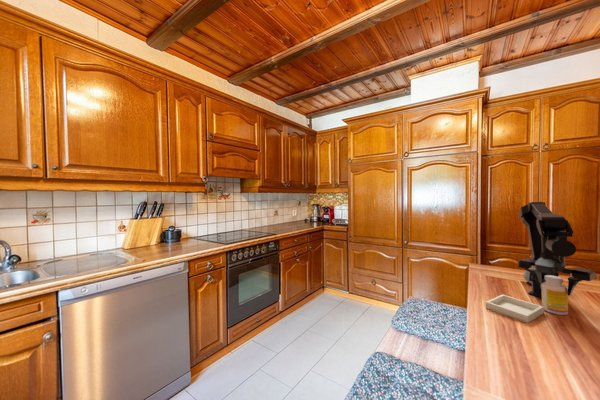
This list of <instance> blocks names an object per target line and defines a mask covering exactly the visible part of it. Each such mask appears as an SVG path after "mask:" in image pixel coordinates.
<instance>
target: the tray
mask: <svg viewBox="0 0 600 400" xmlns="http://www.w3.org/2000/svg"><path fill="white" fill-rule="evenodd" d="M485 309H488V310H490V311H492V312H495V311H496V313H498V314H501V315H504V316H506V317H509V318H511V319H512V318H513V319H515V320H517V321H519V322H520V321H521V322H524V323H526V324H529V323H530V322H532V321H534V320H536V319H537V318H539V317H541V316H543V315H544V314H545V310H544V307H543V306H542V305H539V304H536V303H532V302H529V301H526V300H523V299H519V298H516V297H512V296H511V295H510V296H509V295H505V294H500V295H498V296H496V297H493V298H491V299H489V300H487V301H485Z"/></svg>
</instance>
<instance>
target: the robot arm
mask: <svg viewBox="0 0 600 400" xmlns="http://www.w3.org/2000/svg"><path fill="white" fill-rule="evenodd" d="M518 217H519V218H520V219H521V223H522V224H523V225H524V226H526V227H527V232H528V238H529V243H530V244H529V245H530V250H531V256H532V258H533V259H531V258H530V259H529V258H523V259H519V260H518V261H517V266H518V268H520V269H521V268H522V269H524V270H525V271H526V278H527V279H528V280H529V281H532V284H531V290H530V291H529V292H528V295H532V296H535V297H539V298H542V291H541V284H542V283H543V282H545V281H546V280H545V275H552V276H558V277H560V273H563V274H567V275H569V277H567V282H568V284H567V292H568V296H571V295H572V293H573V292H574V290H575V288H576V286H577V285H578V283H579V282H583V281H585V282H590V281H593V280H594V279H596V272H595V271H594V270H593V269H589V268H584V267H583V268H582V267H579V266H578V267H575V268H574V269H573V268H568V267H567V263H566V260H565V258H567V257H571V256H573V255H575V253H576V251H577V247H576V245H575V244H574V243H573V242H572V241H569V240H568V238H573V234H574V230H573V228H572V226H571V223H570V222H569V221H568V219H567V218H565V216H563V215H561V214H557V213H553V212H552V211H551V210H550V209H549V207H547V205H546V202H545V201H530V202H528V203H527V204H525V205H523V206H521V207H520V208H519V210H518ZM531 276H532V277H531Z"/></svg>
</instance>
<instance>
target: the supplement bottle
mask: <svg viewBox="0 0 600 400" xmlns="http://www.w3.org/2000/svg"><path fill="white" fill-rule="evenodd" d="M545 280H546V281H545V282H543V283H542V284H541V291H542V297H541V306H543V307H544V311H546V312H548V313H550V314H554V315H559V316H560V315H561V316H566V315H568V314H569V300H568V297H569V295H568V286H566V285H565V284H563V283H564V278H562V277H560V276H552V275H545Z"/></svg>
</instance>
